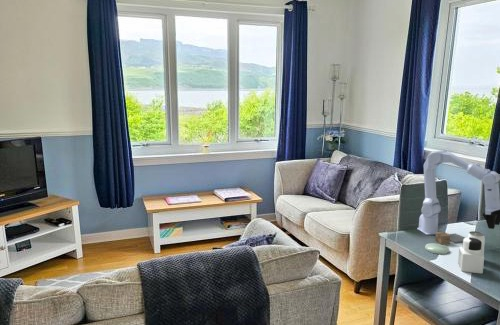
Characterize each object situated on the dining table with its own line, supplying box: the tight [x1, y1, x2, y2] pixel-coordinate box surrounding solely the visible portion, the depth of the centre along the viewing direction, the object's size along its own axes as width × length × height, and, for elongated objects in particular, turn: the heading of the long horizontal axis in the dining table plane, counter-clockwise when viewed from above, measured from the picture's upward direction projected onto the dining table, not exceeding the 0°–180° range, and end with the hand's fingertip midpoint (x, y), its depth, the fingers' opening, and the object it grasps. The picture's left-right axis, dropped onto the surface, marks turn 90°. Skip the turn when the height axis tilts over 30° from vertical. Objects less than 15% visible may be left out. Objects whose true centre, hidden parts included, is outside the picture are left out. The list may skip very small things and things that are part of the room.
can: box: [467, 230, 486, 256], centre depth 163 cm, size 6×6×12 cm
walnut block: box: [434, 231, 451, 245], centre depth 183 cm, size 4×4×4 cm
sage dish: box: [424, 242, 450, 255], centre depth 175 cm, size 10×10×1 cm
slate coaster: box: [448, 233, 466, 244], centre depth 187 cm, size 9×9×1 cm
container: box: [457, 237, 485, 274], centre depth 154 cm, size 8×8×13 cm
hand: (494, 226), depth 173 cm, fingers open, 7 cm apart
